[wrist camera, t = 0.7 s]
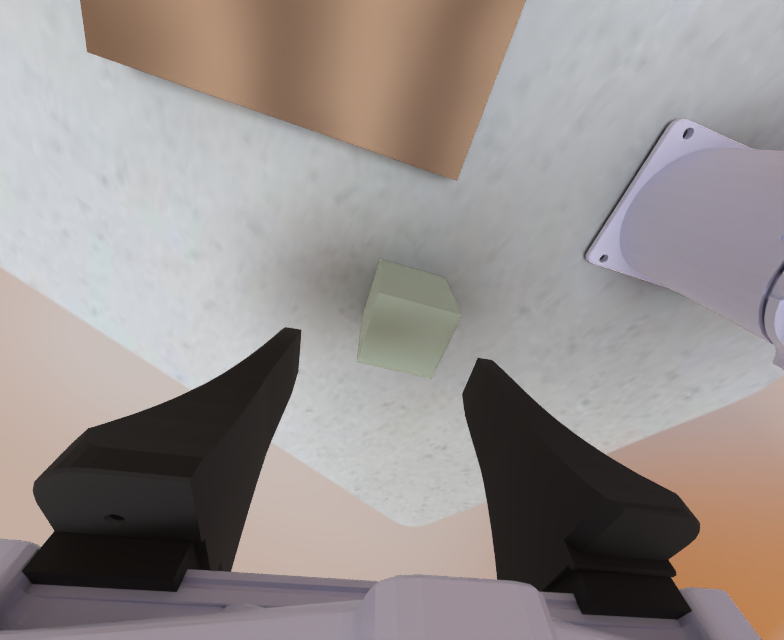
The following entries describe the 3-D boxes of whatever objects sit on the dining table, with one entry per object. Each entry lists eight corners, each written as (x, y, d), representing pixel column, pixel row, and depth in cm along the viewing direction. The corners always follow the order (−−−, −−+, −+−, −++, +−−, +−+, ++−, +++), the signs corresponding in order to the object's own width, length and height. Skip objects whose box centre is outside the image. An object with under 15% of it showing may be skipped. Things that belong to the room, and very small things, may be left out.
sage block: (445, 277, 21) (462, 315, 16) (422, 332, 23) (431, 378, 19) (379, 258, 20) (379, 292, 16) (361, 317, 22) (356, 361, 18)
